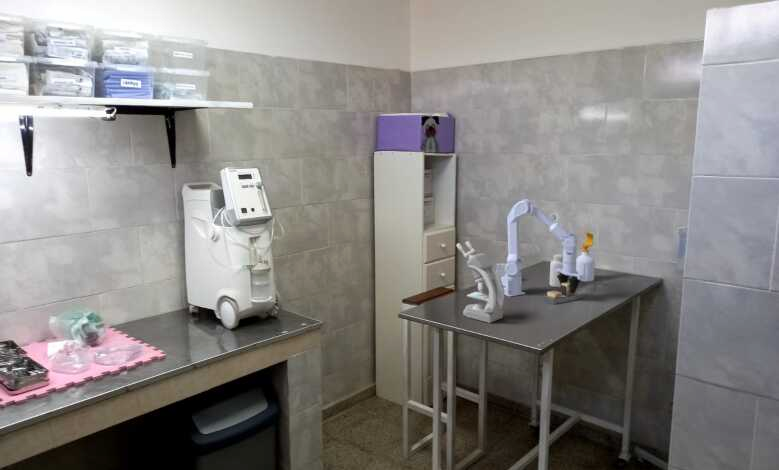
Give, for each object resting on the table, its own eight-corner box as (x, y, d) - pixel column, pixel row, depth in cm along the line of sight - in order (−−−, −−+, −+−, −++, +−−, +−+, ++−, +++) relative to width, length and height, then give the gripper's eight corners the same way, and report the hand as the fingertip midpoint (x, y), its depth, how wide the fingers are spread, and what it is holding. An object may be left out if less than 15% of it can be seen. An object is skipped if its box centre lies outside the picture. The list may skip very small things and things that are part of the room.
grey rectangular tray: (553, 304, 241) (553, 299, 240) (543, 300, 247) (543, 295, 246) (581, 299, 248) (581, 294, 247) (570, 295, 254) (570, 290, 253)
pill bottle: (568, 287, 266) (569, 257, 264) (552, 287, 267) (552, 257, 264) (564, 283, 274) (565, 253, 272) (547, 283, 275) (548, 253, 272)
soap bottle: (571, 278, 283) (572, 231, 278) (584, 276, 286) (586, 229, 282) (583, 282, 274) (585, 233, 270) (597, 280, 278) (600, 232, 274)
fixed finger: (554, 301, 242) (555, 294, 242) (547, 298, 246) (547, 291, 246) (562, 299, 244) (562, 293, 244) (554, 296, 248) (555, 290, 248)
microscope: (469, 308, 238) (469, 239, 232) (506, 318, 224) (507, 245, 219) (453, 314, 230) (452, 243, 225) (490, 324, 217) (491, 249, 212)
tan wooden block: (566, 298, 246) (566, 285, 245) (560, 296, 249) (560, 283, 248) (575, 296, 248) (575, 283, 247) (569, 294, 251) (570, 281, 250)
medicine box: (511, 280, 283) (512, 263, 281) (512, 282, 278) (513, 265, 277) (496, 279, 284) (496, 263, 282) (496, 282, 279) (497, 265, 278)
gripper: (588, 264, 241) (587, 294, 243) (564, 257, 254) (563, 286, 256) (576, 266, 238) (575, 296, 240) (552, 259, 251) (551, 288, 253)
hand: (568, 291), depth 248 cm, fingers open, 5 cm apart
